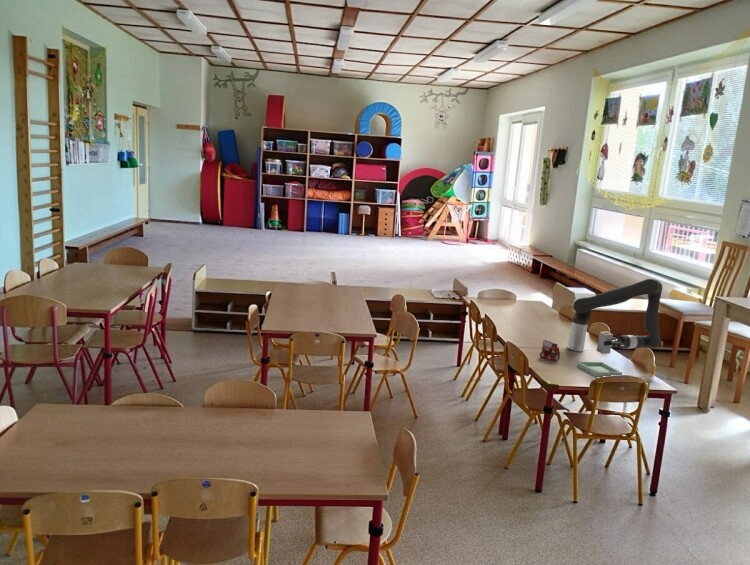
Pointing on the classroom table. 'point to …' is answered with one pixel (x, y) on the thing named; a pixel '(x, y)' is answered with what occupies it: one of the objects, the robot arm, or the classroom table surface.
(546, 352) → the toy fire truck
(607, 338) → the block
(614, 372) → the green tray
